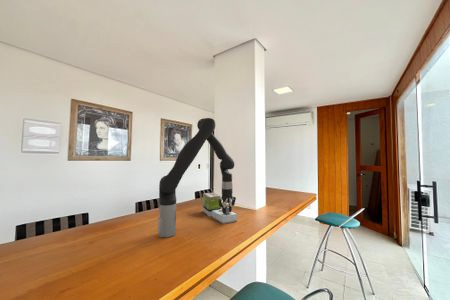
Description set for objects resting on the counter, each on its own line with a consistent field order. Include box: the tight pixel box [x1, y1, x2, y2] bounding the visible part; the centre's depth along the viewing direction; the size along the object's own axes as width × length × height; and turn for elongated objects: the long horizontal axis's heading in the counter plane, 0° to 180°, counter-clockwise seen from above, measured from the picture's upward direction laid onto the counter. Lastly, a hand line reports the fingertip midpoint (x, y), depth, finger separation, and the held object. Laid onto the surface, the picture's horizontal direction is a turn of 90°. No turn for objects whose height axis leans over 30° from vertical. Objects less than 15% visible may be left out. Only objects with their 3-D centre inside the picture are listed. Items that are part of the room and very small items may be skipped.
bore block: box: [211, 208, 238, 225], centre depth 132 cm, size 11×16×5 cm
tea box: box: [202, 192, 222, 217], centre depth 147 cm, size 15×10×15 cm
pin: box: [225, 205, 229, 215], centre depth 129 cm, size 3×3×9 cm
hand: (226, 212), depth 129 cm, fingers open, 4 cm apart
